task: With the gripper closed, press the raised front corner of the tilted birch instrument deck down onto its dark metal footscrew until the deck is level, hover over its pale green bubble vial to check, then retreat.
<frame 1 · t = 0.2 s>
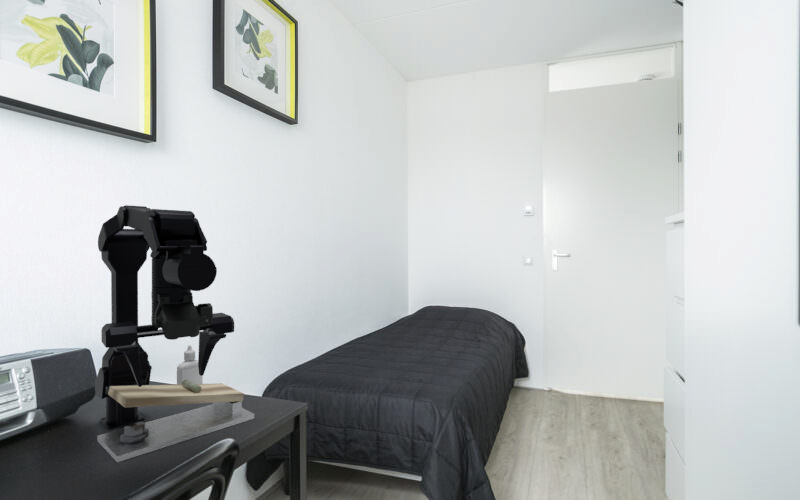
hand: (171, 380, 72), 14 cm above the table, fingers open, 9 cm apart
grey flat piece: (177, 429, 86), on the table
instrument deck: (180, 390, 86), point 8 cm above the table, hinge at 12.0°
eye dropper bottle: (189, 395, 106), on the table
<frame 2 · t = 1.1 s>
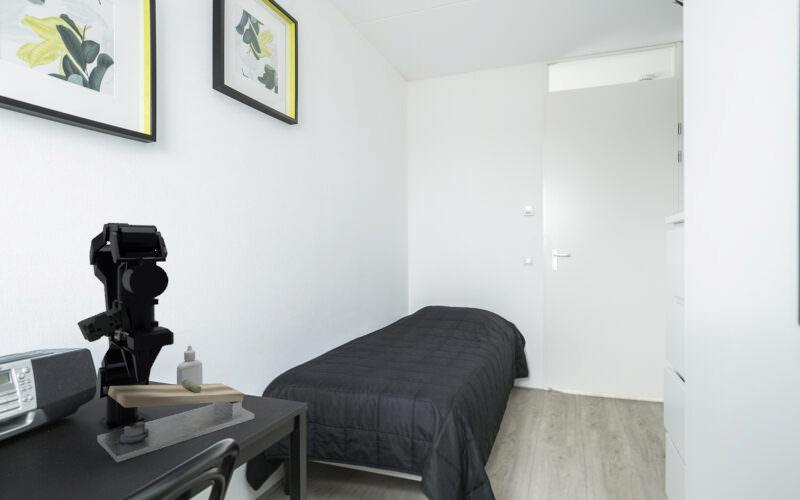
hand: (137, 379, 79), 12 cm above the table, fingers open, 4 cm apart
nothing on the table moved.
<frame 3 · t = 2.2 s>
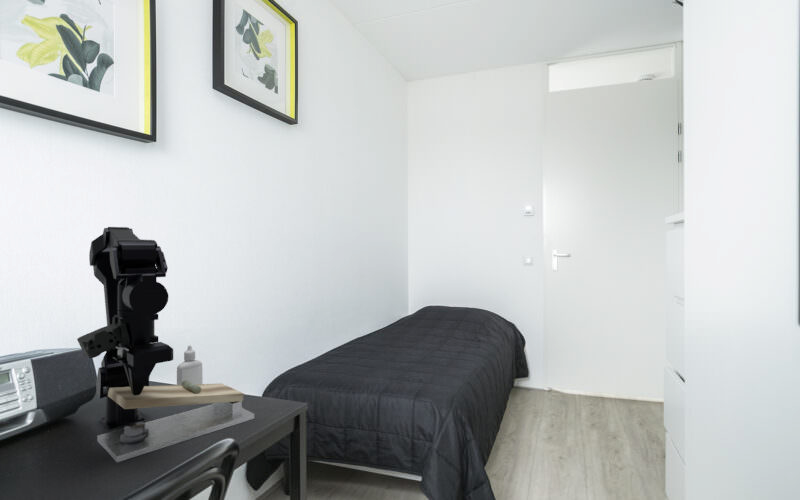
hand: (136, 394, 79), 9 cm above the table, fingers closed, pressing on instrument deck
instrument deck: (180, 390, 86), point 8 cm above the table, hinge at 11.3°, touching gripper
everything else where it was.
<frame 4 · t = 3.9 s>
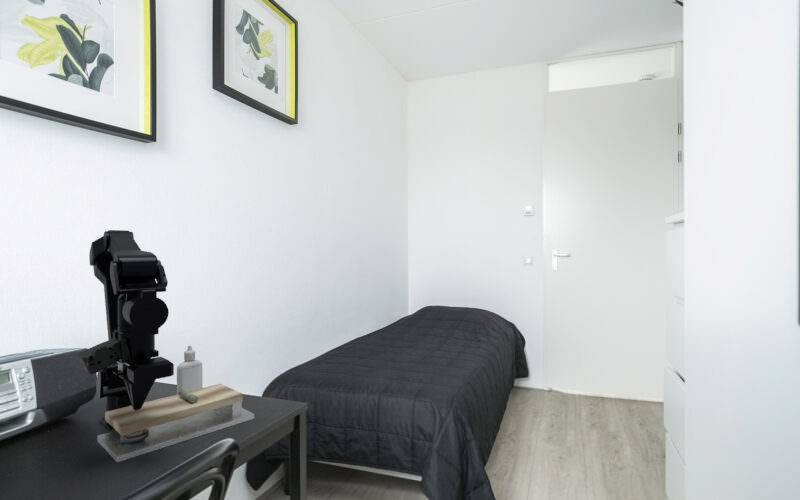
hand: (137, 409, 79), 7 cm above the table, fingers closed
instrument deck: (177, 402, 86), point 5 cm above the table, hinge at -0.3°
everything else where it was.
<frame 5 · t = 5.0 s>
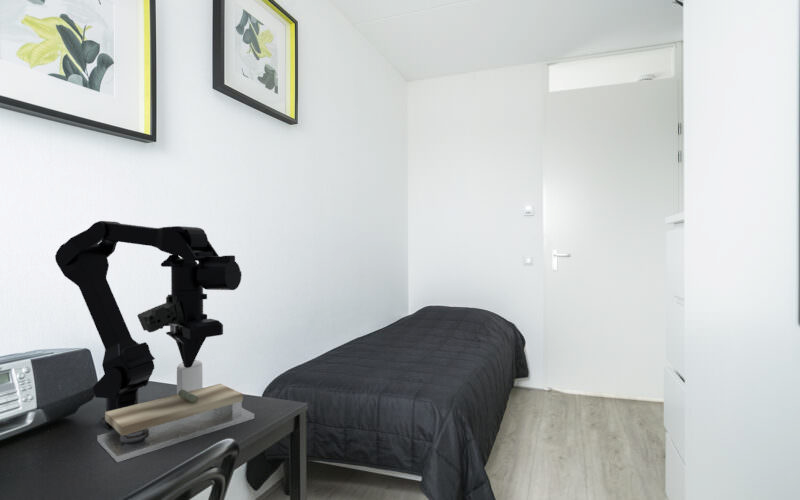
hand: (187, 367, 87), 12 cm above the table, fingers closed
nothing on the table moved.
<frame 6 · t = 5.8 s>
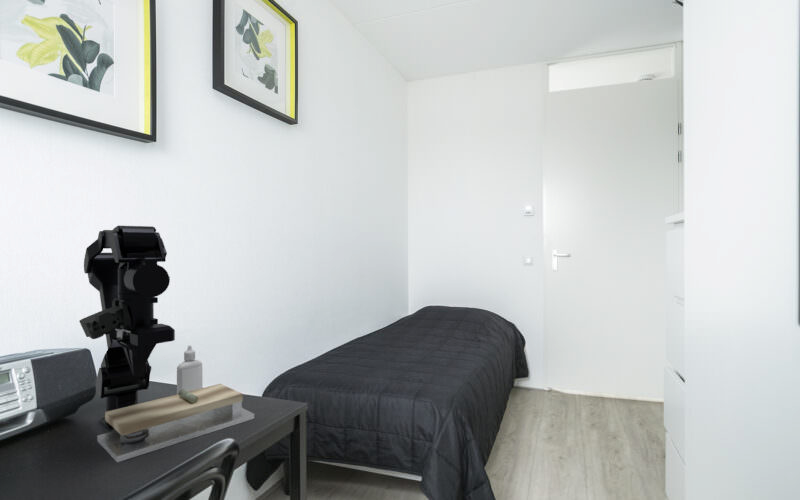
hand: (136, 375, 82), 12 cm above the table, fingers closed
nothing on the table moved.
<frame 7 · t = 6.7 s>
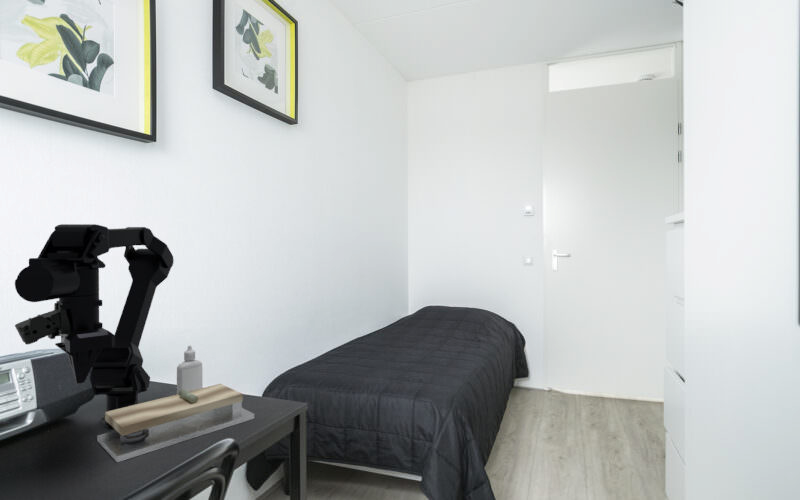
hand: (80, 382, 77), 12 cm above the table, fingers closed
nothing on the table moved.
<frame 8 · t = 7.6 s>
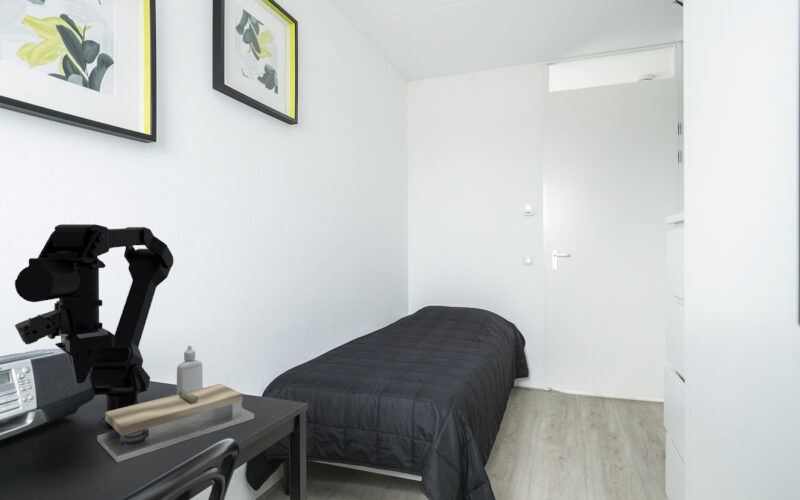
hand: (80, 382, 77), 12 cm above the table, fingers closed
nothing on the table moved.
at the end: instrument deck at +0° (first picture: +12°); eye dropper bottle moved 0.2 cm from its start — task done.
